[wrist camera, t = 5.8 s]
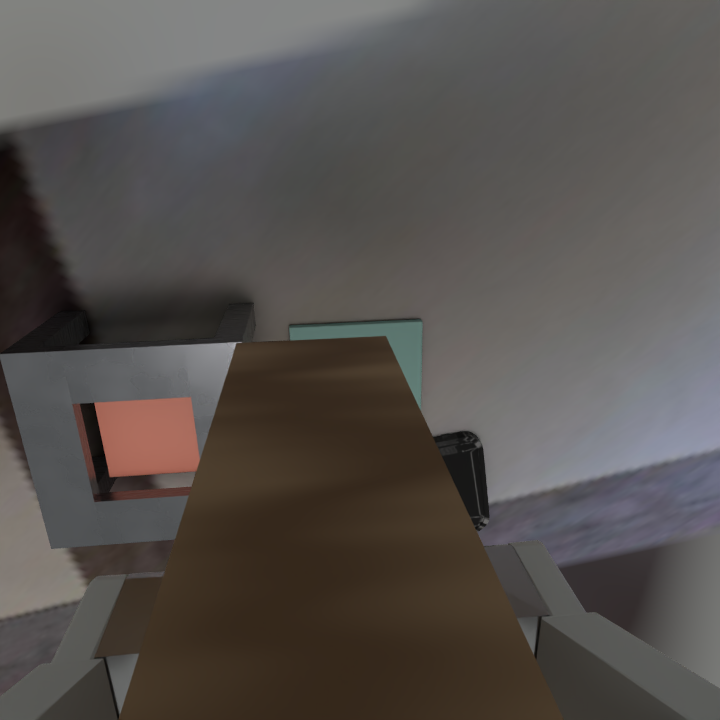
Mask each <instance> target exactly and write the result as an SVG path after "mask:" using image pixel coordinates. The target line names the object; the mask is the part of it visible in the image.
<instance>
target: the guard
mask: <svg viewBox="0 0 720 720" xmlns="http://www.w3.org/2000/svg"><path fill="white" fill-rule="evenodd" d="M255 326H256V324H255V313H254V303H239V304H229V306H228V308H227V311H226V313H225V315H224V317H223V319H222V322H221V324H220V326H219V328H218V331H217V333H216V335H215V337H214V338H206V339H186V340H166V341H145V342H125V343H105V344H85V345H78V344H79V343H80V342H81V341H82V340H83V339H84V338H85V337H86V336H88V335H89V334H90V333H89V328H88V323H87V318H86V313H85V310H84V311H62V312H58V313H57V314H56V315H54V316H53V317H51V318H50V319H49V320H47V321H46V322H44V323H43V324H41V325H40V326H39V327H37V328H36V329H34V330H33V331H32V332H30V333H29V334H27V335H26V336H24V337H23V338H22V339H20V340H19V341H17V342H16V343H14V344H13V345H12V346H10V347H9V348H7V349H6V350H5V351H3V352H2V353H0V359H1V363H2V367H3V370H4V374H5V378H6V382H7V385H8V389H9V393H10V396H11V400H12V404H13V408H14V411H15V415H16V419H17V423H18V426H19V430H20V434H21V437H22V441H23V445H24V449H25V452H26V456H27V460H28V464H29V467H30V471H31V475H32V478H33V482H34V486H35V490H36V493H37V497H38V501H39V505H40V508H41V512H42V516H43V519H44V523H45V527H46V531H47V534H48V538H49V542H50V546H51V549H55V548H68V547H81V546H94V545H107V544H121V543H134V542H147V541H160V540H173V539H175V538H176V535H177V531H178V528H179V525H180V522H181V519H182V516H183V512H184V509H185V506H186V503H187V500H188V496H189V493H190V490H191V487H181V488H167V489H152V490H138V491H124V492H109V491H110V489H111V487H112V486H113V484H114V482H115V480H116V478H117V477H110V475H109V471H108V466H107V461H106V456H104V457H91V453H90V448H89V443H88V439H87V434H86V430H85V425H84V421H83V416H82V412H81V407H80V403H97V402H114V401H132V400H149V399H167V398H184V397H191V401H192V408H193V415H194V422H195V429H196V436H197V443H198V450H199V457H200V458H201V455H202V452H203V449H204V445H205V442H206V439H207V436H208V433H209V429H210V426H211V423H212V420H213V417H214V414H215V410H216V407H217V404H218V401H219V398H220V394H221V391H222V388H223V385H224V382H225V378H226V375H227V372H228V369H229V366H230V363H231V359H232V356H233V353H234V350H235V347H236V343H247V342H252V338H253V334H254V330H255Z"/></svg>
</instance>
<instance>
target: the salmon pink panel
mask: <svg viewBox="0 0 720 720" xmlns="http://www.w3.org/2000/svg"><path fill="white" fill-rule="evenodd" d="M94 404H95V409H96V414H97V419H98V423H99V428H100V433H101V437H102V442H103V447H104V452H105V456H106V461H107V466H108V471H109V475H110V477H120V476H135V475H150V474H164V473H179V472H194V471H197V468H198V465H199V461H200V457H199V450H198V443H197V436H196V429H195V422H194V415H193V408H192V401H191V397H184V398H167V399H149V400H132V401H114V402H97V403H94Z"/></svg>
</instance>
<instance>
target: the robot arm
mask: <svg viewBox="0 0 720 720" xmlns="http://www.w3.org/2000/svg"><path fill="white" fill-rule="evenodd" d="M484 549H485V551H486V553H487V555H488V557H489V559H490V561H491V564H492V566H493V568H494V570H495V572H496V574H497V577H498V579H499V581H500V583H501V585H502V587H503V590H504V592H505V594H506V596H507V598H508V600H509V602H510V605H511V607H512V609H513V611H514V613H515V615H516V618H517V620H518V622H519V624H520V626H521V628H522V631H523V633H524V635H525V637H526V639H527V641H528V643H529V646H530V648H531V650H532V652H533V654H534V656H535V659H536V661H537V663H538V665H539V667H540V669H541V672H542V674H543V676H544V678H545V680H546V682H547V684H548V687H549V689H550V691H551V693H552V695H553V697H554V700H555V702H556V704H557V706H558V708H559V710H560V712H561V715H562V717H563V719H564V720H720V688H718V687H717V686H715V685H713V684H712V683H710V682H708V681H707V680H705V679H704V678H702V677H700V676H698V675H697V674H695V673H694V672H692V671H691V670H689V669H687V668H686V667H684V666H682V665H681V664H679V663H677V662H676V661H674V660H672V659H671V658H669V657H668V656H666V655H664V654H663V653H661V652H659V651H658V650H656V649H654V648H653V647H651V646H650V645H648V644H646V643H645V642H643V641H642V640H640V639H638V638H637V637H635V636H633V635H632V634H630V633H628V632H627V631H625V630H624V629H622V628H620V627H619V626H617V625H615V624H614V623H612V622H611V621H609V620H607V619H606V618H604V617H602V616H601V615H599V614H597V613H595V612H593V613H586V612H585V610H584V608H583V607H582V606H581V604H580V602H579V600H578V599H577V597H576V596H575V594H574V593H573V591H572V589H571V588H570V586H569V585H568V583H567V581H566V580H565V578H564V577H563V575H562V573H561V572H560V570H559V569H558V567H557V565H556V564H555V562H554V561H553V559H552V557H551V556H550V554H549V553H548V551H547V550H546V548H545V546H544V545H543V543H541V542H539V541H538V540H535V541H526V542H516V543H509V544H508V545H507V544H504V545H492V546H484ZM164 573H165V572H151V573H134V574H130V575H127V574H125V575H109V576H97V577H96V578H95V579H93V580H92V581H91V582H90V583H89V585H88V588H87V590H86V592H85V594H84V596H83V598H82V600H81V602H80V604H79V606H78V608H77V610H76V613H75V615H74V617H73V619H72V621H71V623H70V625H69V627H68V629H67V631H66V633H65V635H64V637H63V640H62V642H61V644H60V646H59V648H58V650H57V652H56V654H55V656H54V658H53V660H52V662H51V663H49V664H40V665H39V666H38V667H37V668H35V669H34V670H33V671H32V672H30V673H29V674H28V675H27V676H25V677H24V678H23V679H22V680H20V681H19V682H18V683H17V684H15V685H14V686H13V687H12V688H10V689H9V690H8V691H7V692H5V693H4V694H3V695H2V696H0V720H119V716H120V713H121V710H122V707H123V704H124V700H125V697H126V694H127V691H128V688H129V684H130V681H131V678H132V675H133V672H134V669H135V665H136V662H137V659H138V656H139V653H140V649H141V646H142V643H143V640H144V637H145V633H146V630H147V627H148V624H149V621H150V618H151V614H152V611H153V608H154V605H155V602H156V598H157V595H158V592H159V589H160V586H161V582H162V579H163V576H164Z"/></svg>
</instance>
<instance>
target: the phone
mask: <svg viewBox="0 0 720 720" xmlns="http://www.w3.org/2000/svg"><path fill="white" fill-rule="evenodd" d="M433 438H434V441H435V443H436V445H437V447H438V449H439V451H440V454H441V456H442V458H443V460H444V462H445V464H446V467H447V469H448V471H449V473H450V475H451V477H452V479H453V482H454V484H455V486H456V488H457V490H458V492H459V495H460V497H461V499H462V501H463V503H464V505H465V508H466V510H467V512H468V514H469V516H470V518H471V520H472V523H473V525H474V527H475V529H476V531H480V530H481V529H483V528H484V527H485V526H486V525H487V523H488V521H489V506H488V495H487V485H486V474H485V463H484V453H483V447H482V444H481V442H480V441H479V439H478V438H477V436H476V435H474V434H473V433H471V432H457V433H452V434H447V435H442V436H437V437H433Z"/></svg>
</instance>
